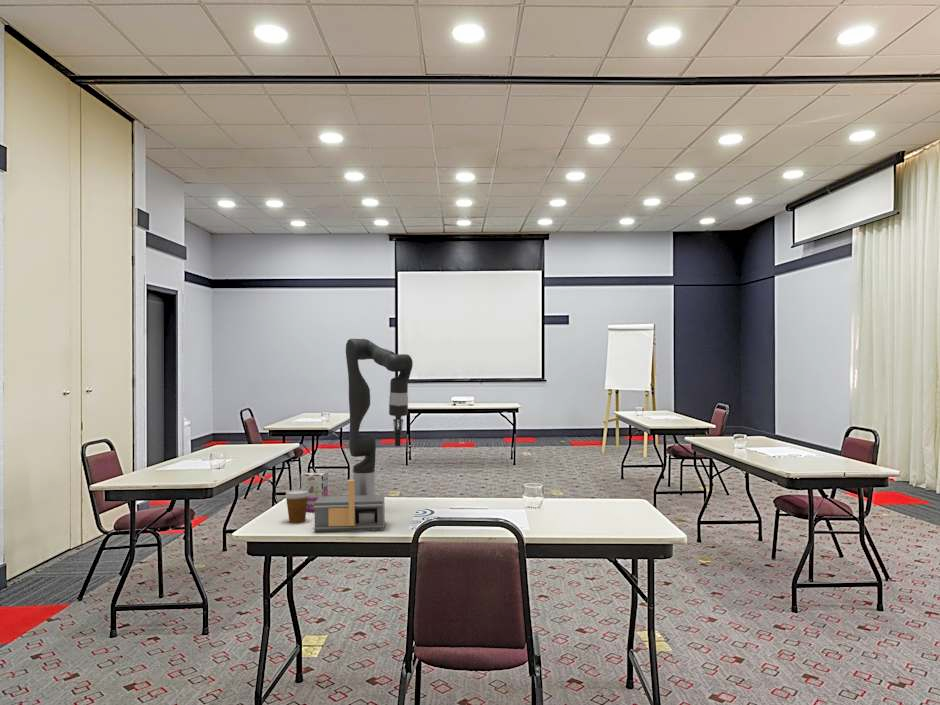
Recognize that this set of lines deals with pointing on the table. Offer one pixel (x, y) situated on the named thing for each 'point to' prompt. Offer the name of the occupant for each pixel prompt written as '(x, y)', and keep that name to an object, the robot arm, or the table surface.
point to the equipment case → (366, 512)
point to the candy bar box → (314, 487)
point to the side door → (344, 511)
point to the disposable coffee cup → (297, 505)
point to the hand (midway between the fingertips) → (397, 445)
